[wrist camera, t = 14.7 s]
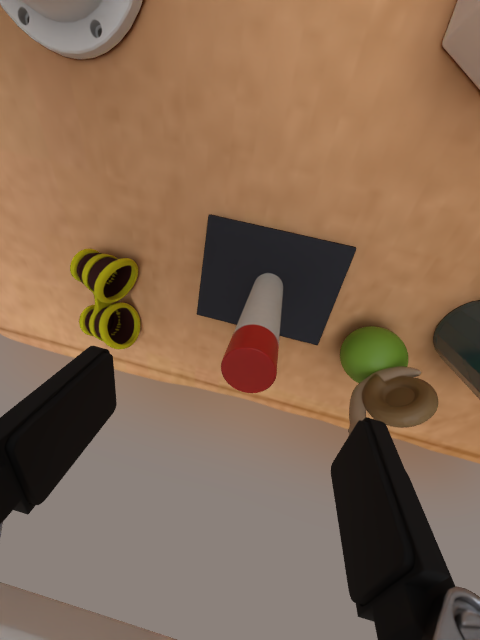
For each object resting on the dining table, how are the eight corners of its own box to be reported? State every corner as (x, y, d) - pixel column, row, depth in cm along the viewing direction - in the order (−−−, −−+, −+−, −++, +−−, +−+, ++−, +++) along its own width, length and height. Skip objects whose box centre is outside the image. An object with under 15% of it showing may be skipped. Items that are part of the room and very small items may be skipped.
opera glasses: (102, 243, 26) (56, 250, 22) (144, 255, 25) (102, 265, 21) (111, 323, 31) (73, 342, 27) (146, 337, 30) (112, 359, 25)
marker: (251, 297, 25) (217, 385, 13) (257, 269, 23) (225, 341, 12) (278, 304, 25) (268, 399, 13) (286, 276, 23) (283, 356, 12)
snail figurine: (317, 335, 26) (336, 432, 15) (382, 307, 23) (458, 399, 13) (339, 373, 27) (371, 486, 17) (403, 351, 25) (486, 466, 14)
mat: (198, 312, 27) (196, 314, 27) (210, 214, 22) (208, 214, 22) (317, 343, 26) (317, 345, 26) (355, 247, 22) (356, 248, 21)
